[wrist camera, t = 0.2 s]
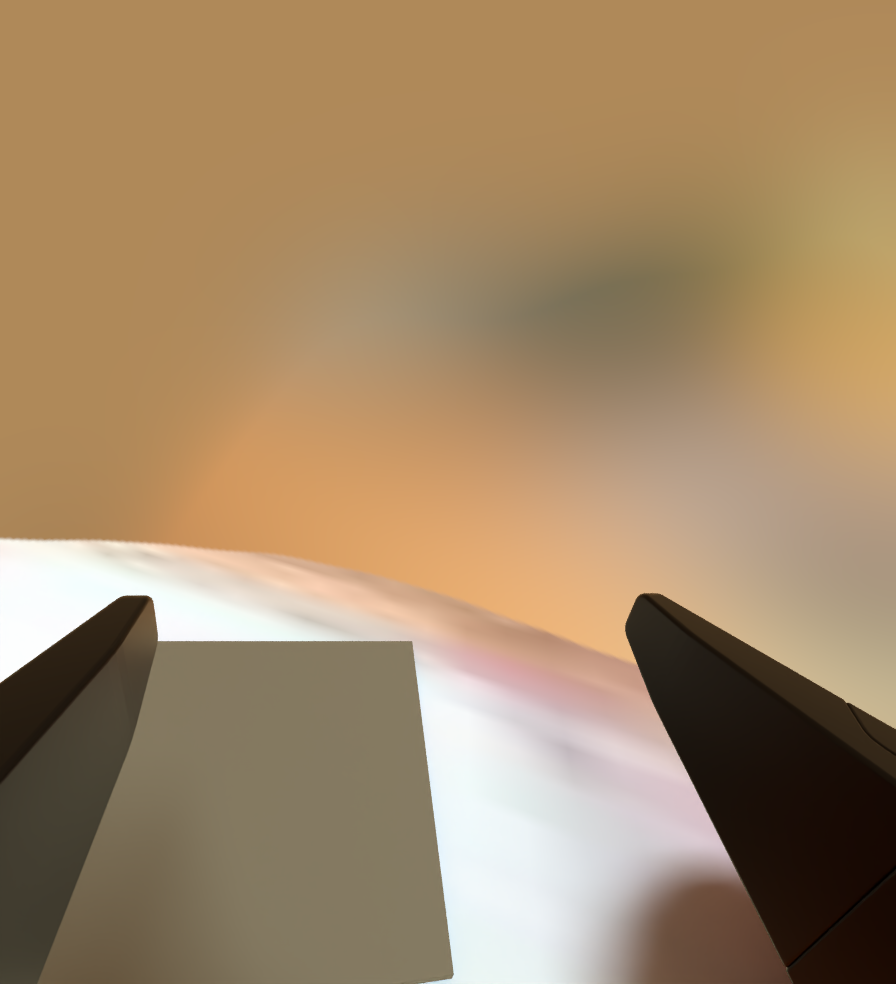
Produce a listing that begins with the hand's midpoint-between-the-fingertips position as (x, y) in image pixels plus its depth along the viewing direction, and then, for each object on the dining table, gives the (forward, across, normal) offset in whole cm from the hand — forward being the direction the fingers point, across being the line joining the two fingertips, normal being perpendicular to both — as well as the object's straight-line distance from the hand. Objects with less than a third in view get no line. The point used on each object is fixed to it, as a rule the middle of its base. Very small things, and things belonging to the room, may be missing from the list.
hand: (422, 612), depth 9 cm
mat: (+8, +4, +16) cm, 18 cm away
